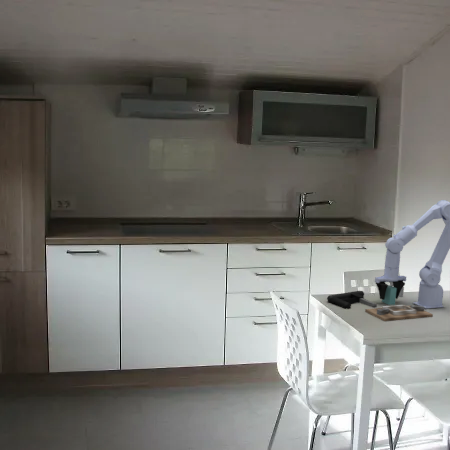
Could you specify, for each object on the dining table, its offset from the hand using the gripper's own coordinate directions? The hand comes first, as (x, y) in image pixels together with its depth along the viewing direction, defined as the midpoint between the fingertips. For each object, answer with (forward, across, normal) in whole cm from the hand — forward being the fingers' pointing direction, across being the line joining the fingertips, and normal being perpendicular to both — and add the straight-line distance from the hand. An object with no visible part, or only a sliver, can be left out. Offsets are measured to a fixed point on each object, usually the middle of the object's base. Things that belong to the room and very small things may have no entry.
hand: (388, 298), depth 248 cm
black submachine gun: (+2, +14, -3) cm, 15 cm away
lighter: (+2, -11, -10) cm, 15 cm away
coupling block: (+2, 0, 0) cm, 2 cm away
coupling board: (+2, +6, +14) cm, 15 cm away
